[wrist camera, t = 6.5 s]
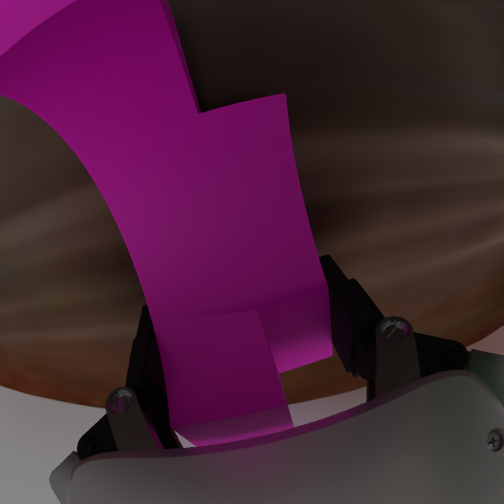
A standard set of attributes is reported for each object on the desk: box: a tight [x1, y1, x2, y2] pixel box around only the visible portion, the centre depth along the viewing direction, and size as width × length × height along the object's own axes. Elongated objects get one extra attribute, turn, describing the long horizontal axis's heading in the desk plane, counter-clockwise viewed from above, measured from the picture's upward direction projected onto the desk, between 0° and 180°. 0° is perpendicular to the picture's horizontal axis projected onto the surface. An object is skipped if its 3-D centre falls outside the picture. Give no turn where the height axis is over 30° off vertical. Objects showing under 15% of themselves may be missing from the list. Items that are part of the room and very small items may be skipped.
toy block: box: [0, 0, 332, 447], centre depth 8 cm, size 15×6×8 cm, turn 13°
